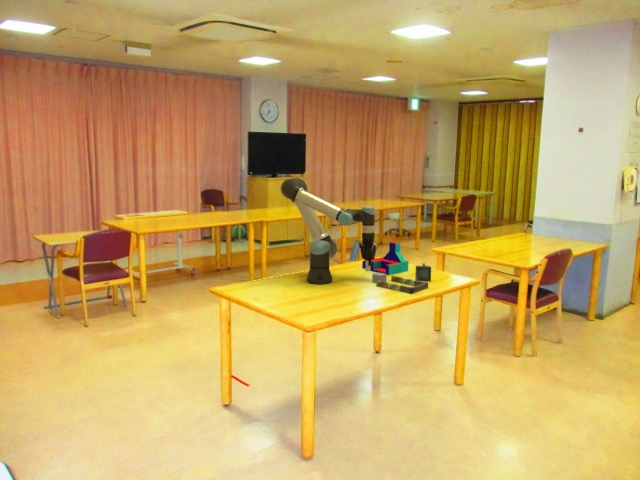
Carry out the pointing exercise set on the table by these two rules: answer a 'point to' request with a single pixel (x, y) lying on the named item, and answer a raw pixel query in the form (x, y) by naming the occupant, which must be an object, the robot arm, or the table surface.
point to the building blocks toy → (389, 261)
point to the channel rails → (395, 286)
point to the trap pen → (417, 287)
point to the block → (379, 277)
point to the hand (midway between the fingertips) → (368, 270)
